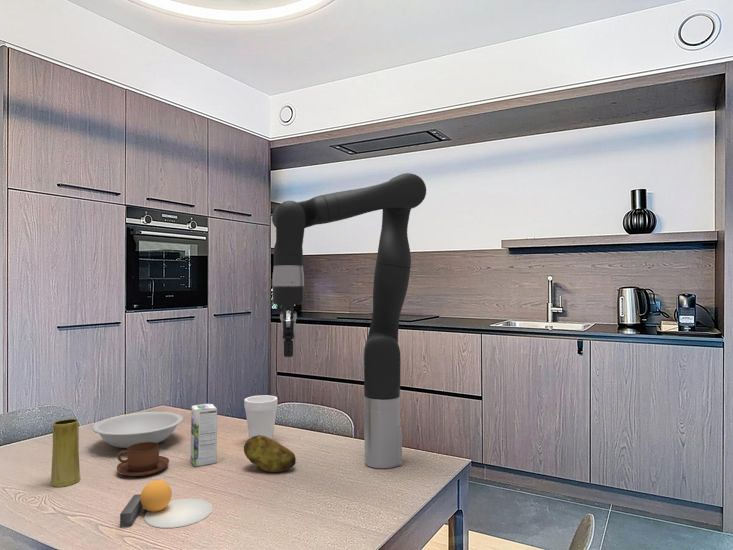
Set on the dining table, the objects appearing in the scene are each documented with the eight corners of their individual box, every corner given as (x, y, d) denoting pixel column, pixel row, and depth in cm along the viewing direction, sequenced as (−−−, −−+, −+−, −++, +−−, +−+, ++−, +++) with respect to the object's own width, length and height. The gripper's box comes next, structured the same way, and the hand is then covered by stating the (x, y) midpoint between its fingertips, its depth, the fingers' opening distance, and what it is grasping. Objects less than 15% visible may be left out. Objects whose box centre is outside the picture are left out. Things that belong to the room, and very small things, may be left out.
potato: (277, 479, 122) (277, 445, 122) (238, 469, 129) (238, 437, 129) (299, 468, 129) (299, 436, 129) (261, 459, 136) (260, 429, 136)
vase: (86, 479, 123) (86, 419, 123) (63, 488, 117) (64, 426, 117) (67, 476, 125) (67, 417, 125) (44, 485, 119) (44, 423, 119)
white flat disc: (216, 497, 112) (216, 496, 112) (207, 525, 99) (207, 524, 99) (154, 501, 110) (154, 500, 110) (136, 530, 97) (136, 529, 97)
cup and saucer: (115, 483, 120) (115, 457, 121) (117, 467, 131) (117, 442, 132) (170, 476, 125) (170, 450, 125) (167, 460, 136) (168, 437, 136)
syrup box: (189, 460, 135) (189, 405, 136) (212, 456, 138) (212, 402, 138) (194, 467, 130) (194, 410, 131) (217, 463, 133) (217, 407, 133)
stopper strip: (144, 506, 108) (144, 494, 108) (131, 526, 99) (131, 513, 99) (134, 506, 108) (134, 494, 108) (120, 527, 99) (120, 513, 99)
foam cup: (238, 443, 150) (238, 398, 150) (266, 436, 156) (266, 393, 156) (255, 451, 143) (255, 404, 143) (283, 444, 149) (283, 399, 149)
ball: (141, 487, 109) (158, 509, 109) (129, 499, 103) (147, 523, 103) (164, 470, 109) (181, 492, 109) (154, 481, 103) (171, 504, 103)
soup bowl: (200, 440, 153) (200, 418, 153) (124, 465, 132) (125, 439, 133) (150, 428, 166) (150, 407, 166) (74, 449, 145) (74, 425, 145)
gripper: (304, 284, 118) (304, 360, 118) (303, 284, 131) (303, 352, 131) (271, 284, 117) (271, 361, 117) (273, 284, 130) (273, 353, 130)
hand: (288, 356), depth 124 cm, fingers closed
